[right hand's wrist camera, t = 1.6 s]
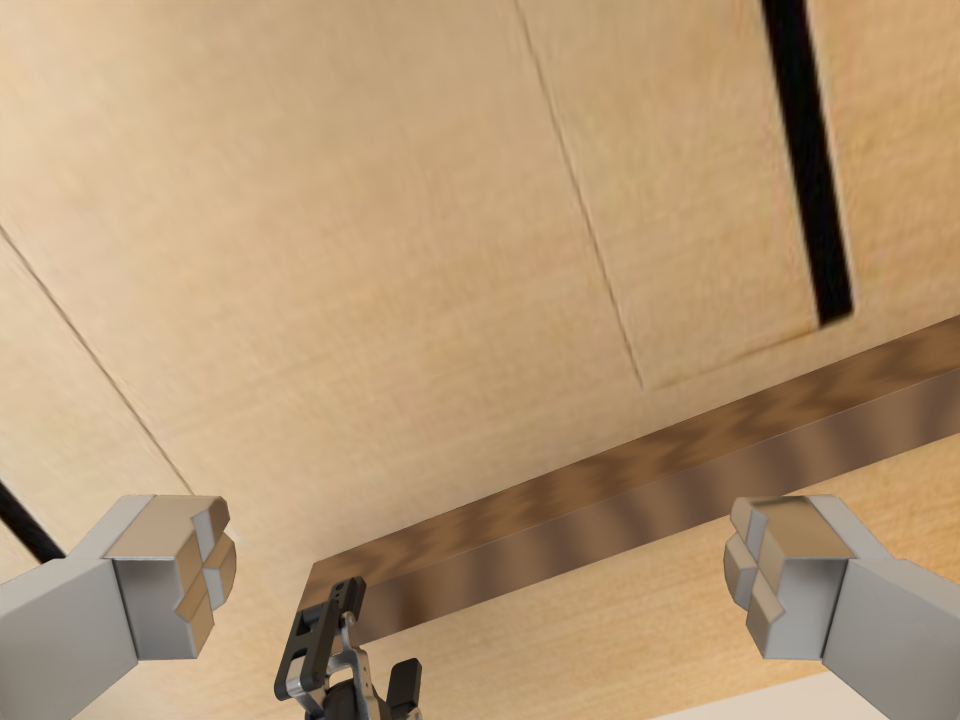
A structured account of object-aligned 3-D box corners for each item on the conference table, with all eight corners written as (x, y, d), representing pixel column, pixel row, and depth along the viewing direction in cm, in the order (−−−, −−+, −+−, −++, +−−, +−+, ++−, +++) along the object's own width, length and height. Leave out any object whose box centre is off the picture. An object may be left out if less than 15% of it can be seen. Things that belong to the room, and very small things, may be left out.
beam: (1100, 259, 43) (1185, 283, 38) (1106, 320, 45) (1187, 351, 40) (313, 563, 53) (295, 614, 48) (341, 603, 55) (327, 657, 50)
